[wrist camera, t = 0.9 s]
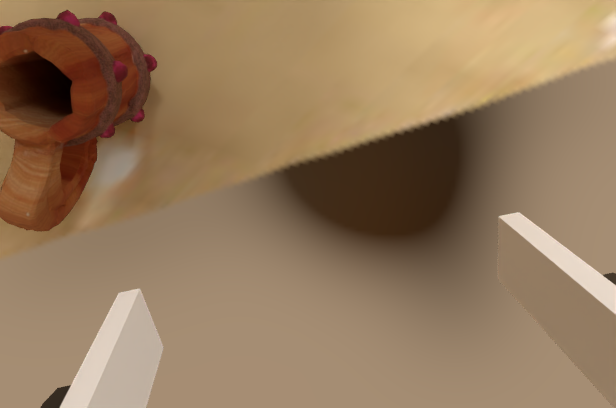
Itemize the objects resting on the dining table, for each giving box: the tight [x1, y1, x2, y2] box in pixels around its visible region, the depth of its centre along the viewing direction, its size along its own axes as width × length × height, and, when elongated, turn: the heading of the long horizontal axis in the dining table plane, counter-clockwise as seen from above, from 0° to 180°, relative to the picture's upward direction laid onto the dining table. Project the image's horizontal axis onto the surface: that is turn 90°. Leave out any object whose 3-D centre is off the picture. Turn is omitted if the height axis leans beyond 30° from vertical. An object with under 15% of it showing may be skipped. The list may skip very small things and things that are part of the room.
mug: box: [0, 10, 157, 231], centre depth 31 cm, size 15×8×15 cm, turn 161°
